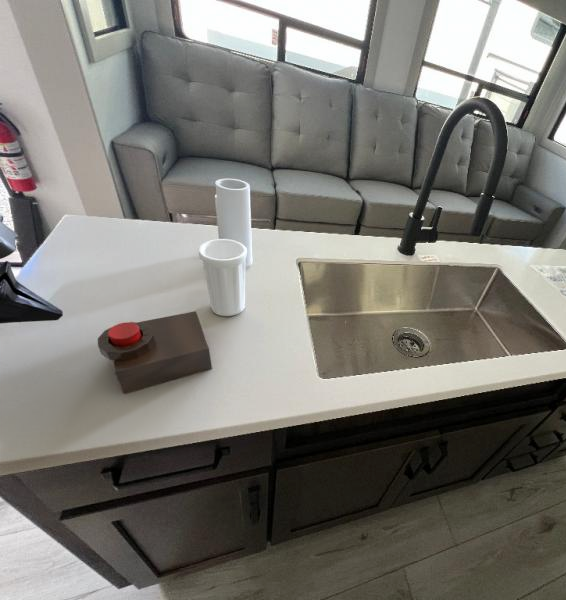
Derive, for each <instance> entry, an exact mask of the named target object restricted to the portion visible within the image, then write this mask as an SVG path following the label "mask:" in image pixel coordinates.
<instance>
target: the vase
mask: <svg viewBox="0 0 566 600" xmlns="http://www.w3.org/2000/svg"><path fill="white" fill-rule="evenodd" d="M214 185H215V195H214V203H215V212H216V223H217V233H218V234H217V235H218V239H229V240H234V241H237V242H239V243H241V244H243V245H244V246H245V247H246V250H247V257H246V259H245V269H248V268H249V267H251V266H252V265H253V242H252V211H251V186H250V183H248V182H247V181H244V180H241V179H237V178H228V177H227V178H220V179H217V180H216V181H215V184H214Z"/></svg>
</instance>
